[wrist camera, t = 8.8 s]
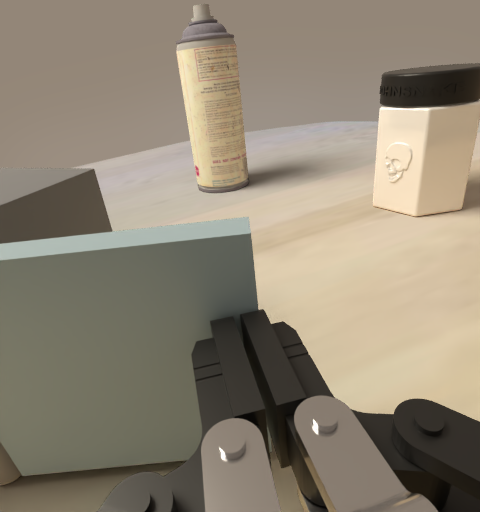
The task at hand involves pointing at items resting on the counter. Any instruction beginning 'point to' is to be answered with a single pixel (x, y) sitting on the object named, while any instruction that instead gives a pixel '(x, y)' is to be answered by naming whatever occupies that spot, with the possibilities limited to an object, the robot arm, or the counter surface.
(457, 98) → the jar
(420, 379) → the counter surface
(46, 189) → the block
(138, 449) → the side door
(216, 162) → the aerosol can
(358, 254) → the counter surface
